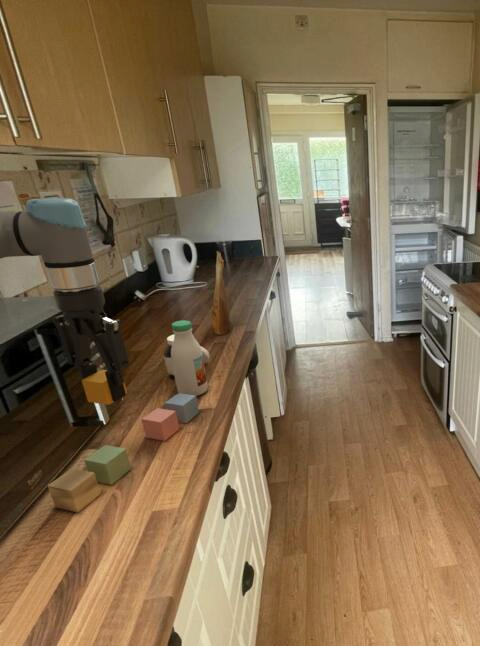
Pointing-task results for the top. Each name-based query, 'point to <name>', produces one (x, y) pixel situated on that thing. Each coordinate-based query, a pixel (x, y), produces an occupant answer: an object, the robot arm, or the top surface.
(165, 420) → the dusty pink block
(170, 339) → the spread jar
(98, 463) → the sage block
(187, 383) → the milk bottle
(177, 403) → the blue-grey block
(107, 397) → the ochre block
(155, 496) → the top surface
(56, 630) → the top surface
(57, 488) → the birch block
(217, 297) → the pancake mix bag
